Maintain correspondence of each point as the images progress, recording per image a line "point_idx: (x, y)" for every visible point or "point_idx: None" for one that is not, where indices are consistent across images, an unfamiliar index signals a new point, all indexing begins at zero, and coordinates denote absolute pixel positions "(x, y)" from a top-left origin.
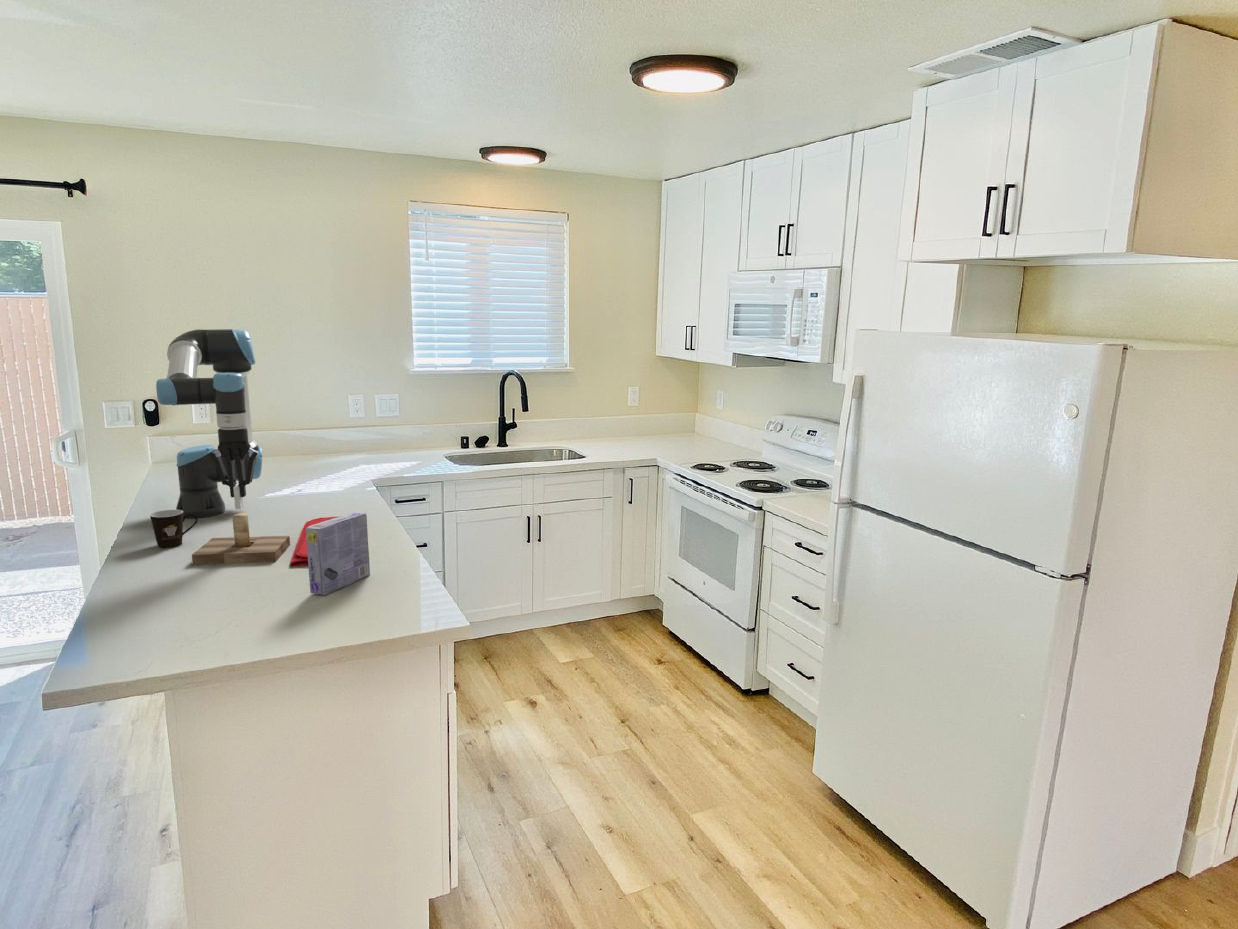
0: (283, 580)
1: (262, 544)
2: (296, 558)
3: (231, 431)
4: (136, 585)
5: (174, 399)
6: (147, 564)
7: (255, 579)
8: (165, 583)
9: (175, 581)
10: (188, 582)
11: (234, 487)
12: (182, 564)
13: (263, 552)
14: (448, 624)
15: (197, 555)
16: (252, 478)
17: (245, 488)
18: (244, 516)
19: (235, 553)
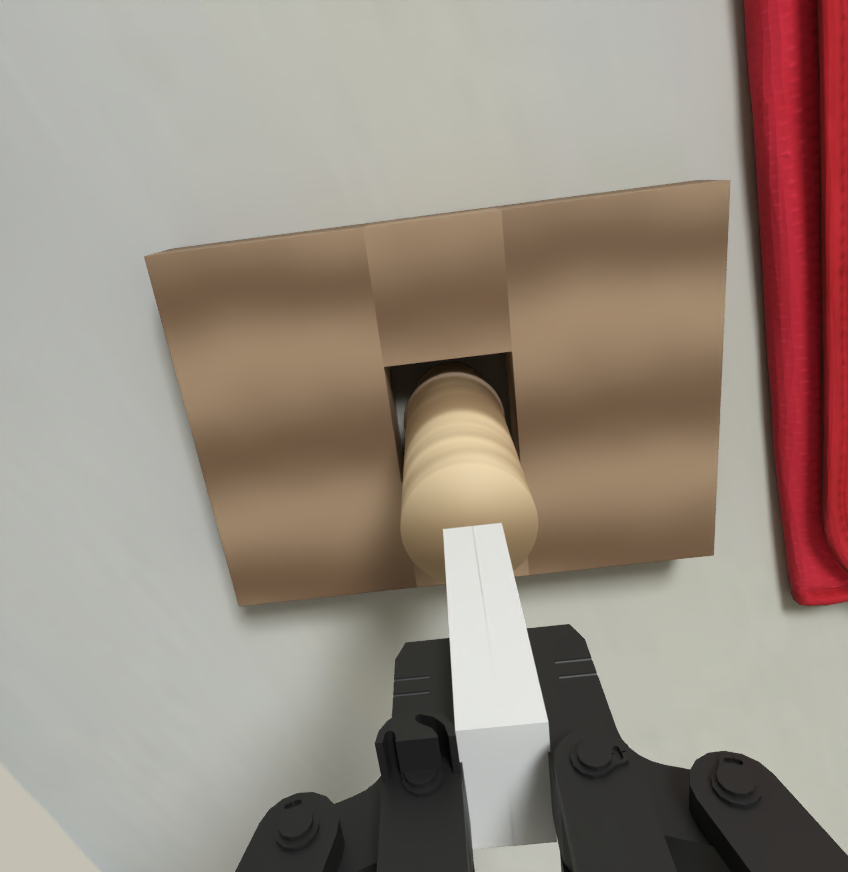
0: (787, 746)
1: (588, 411)
2: (830, 561)
3: None
4: (174, 797)
5: None
6: (2, 562)
7: (657, 737)
8: (281, 778)
9: (310, 759)
10: (374, 768)
11: (489, 845)
12: (191, 560)
13: (645, 562)
14: None
15: (270, 599)
16: (816, 828)
17: (608, 712)
18: (526, 557)
19: None
